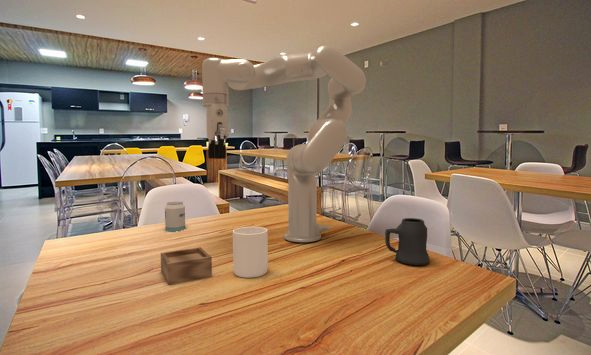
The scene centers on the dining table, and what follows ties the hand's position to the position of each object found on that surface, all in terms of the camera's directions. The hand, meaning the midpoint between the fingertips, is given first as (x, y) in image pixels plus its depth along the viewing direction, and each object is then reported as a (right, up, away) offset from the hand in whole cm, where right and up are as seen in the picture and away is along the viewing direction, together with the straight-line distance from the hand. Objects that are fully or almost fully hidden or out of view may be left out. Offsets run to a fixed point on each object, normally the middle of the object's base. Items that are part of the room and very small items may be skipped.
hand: (216, 158), depth 101 cm
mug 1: (+13, -30, -16) cm, 36 cm away
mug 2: (+55, -29, -8) cm, 63 cm away
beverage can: (-20, -27, +22) cm, 40 cm away
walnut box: (-3, -30, -19) cm, 36 cm away
